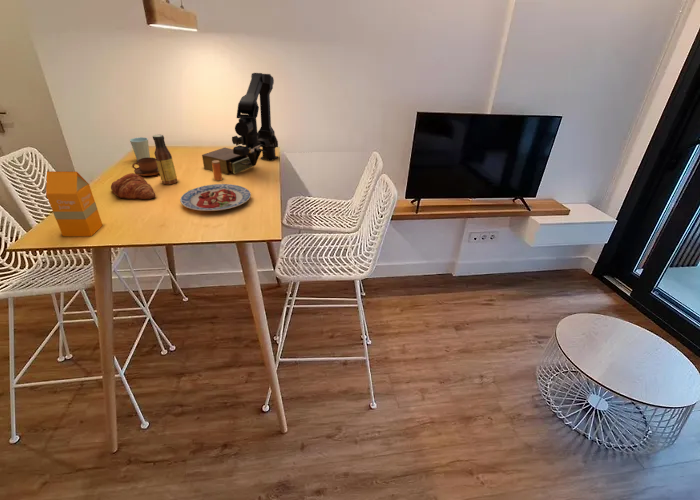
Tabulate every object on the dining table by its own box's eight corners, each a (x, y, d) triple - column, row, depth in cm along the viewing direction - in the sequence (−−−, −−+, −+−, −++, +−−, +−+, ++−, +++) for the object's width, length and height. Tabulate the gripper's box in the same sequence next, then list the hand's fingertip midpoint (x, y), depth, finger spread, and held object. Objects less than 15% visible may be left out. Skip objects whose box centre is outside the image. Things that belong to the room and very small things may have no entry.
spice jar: (212, 179, 168) (209, 161, 163) (218, 177, 170) (215, 159, 166) (218, 181, 166) (215, 163, 162) (224, 178, 169) (221, 161, 165)
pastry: (159, 185, 160) (155, 166, 156) (155, 199, 147) (150, 179, 143) (114, 188, 155) (108, 169, 151) (106, 203, 142) (99, 183, 138)
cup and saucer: (139, 180, 164) (136, 166, 161) (131, 172, 172) (128, 158, 168) (168, 174, 171) (165, 161, 168) (159, 167, 179) (156, 154, 175)
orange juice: (91, 236, 121) (70, 176, 111) (62, 236, 121) (37, 175, 110) (103, 224, 128) (84, 167, 118) (75, 225, 127) (53, 167, 117)
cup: (155, 158, 189) (150, 137, 184) (149, 163, 182) (143, 141, 177) (139, 158, 189) (134, 137, 183) (132, 163, 182) (126, 141, 177)
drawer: (262, 167, 181) (261, 157, 178) (243, 175, 170) (242, 165, 168) (233, 160, 188) (231, 151, 185) (212, 168, 177) (211, 158, 175)
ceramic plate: (179, 193, 153) (178, 186, 152) (244, 185, 162) (244, 179, 161) (183, 220, 133) (181, 212, 132) (257, 210, 142) (256, 202, 141)
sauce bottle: (180, 180, 165) (171, 133, 155) (173, 185, 160) (163, 137, 150) (165, 179, 166) (155, 133, 156) (158, 184, 160) (147, 136, 150)
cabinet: (249, 165, 185) (247, 152, 181) (227, 174, 174) (225, 160, 170) (226, 160, 190) (224, 147, 187) (204, 168, 179) (201, 154, 176)
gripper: (250, 124, 176) (253, 157, 184) (221, 132, 161) (225, 168, 169) (269, 127, 172) (272, 161, 180) (241, 136, 157) (245, 172, 165)
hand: (254, 165), depth 174 cm, fingers closed, pressing on drawer
